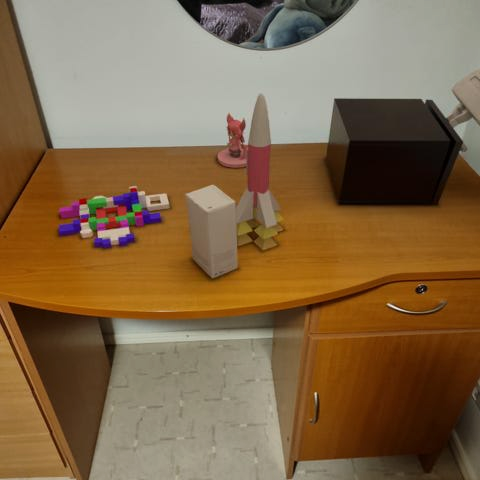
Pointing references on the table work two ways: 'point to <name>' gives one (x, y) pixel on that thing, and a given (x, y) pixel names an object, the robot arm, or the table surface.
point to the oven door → (452, 152)
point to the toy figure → (234, 145)
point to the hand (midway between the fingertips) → (448, 123)
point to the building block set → (124, 219)
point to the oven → (385, 151)
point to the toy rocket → (258, 185)
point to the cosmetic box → (213, 230)
